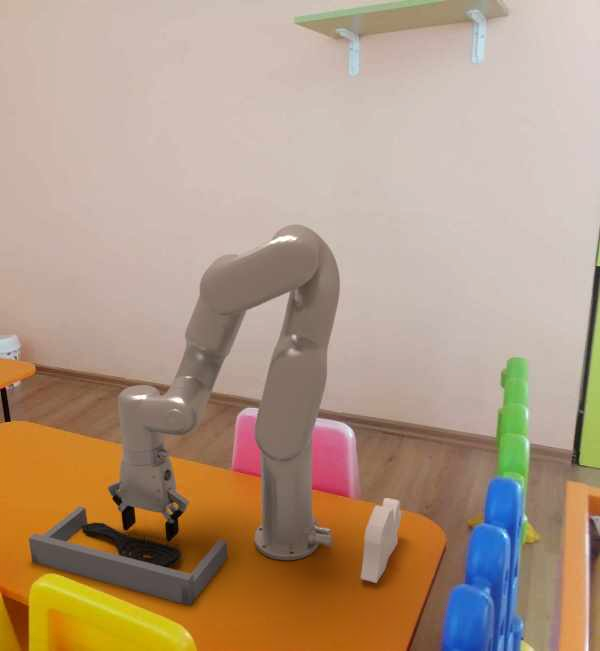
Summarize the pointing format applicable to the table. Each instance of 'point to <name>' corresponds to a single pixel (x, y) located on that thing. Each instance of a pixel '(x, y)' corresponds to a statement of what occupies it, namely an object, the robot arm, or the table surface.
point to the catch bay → (122, 563)
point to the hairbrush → (136, 545)
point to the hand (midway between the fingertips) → (150, 531)
